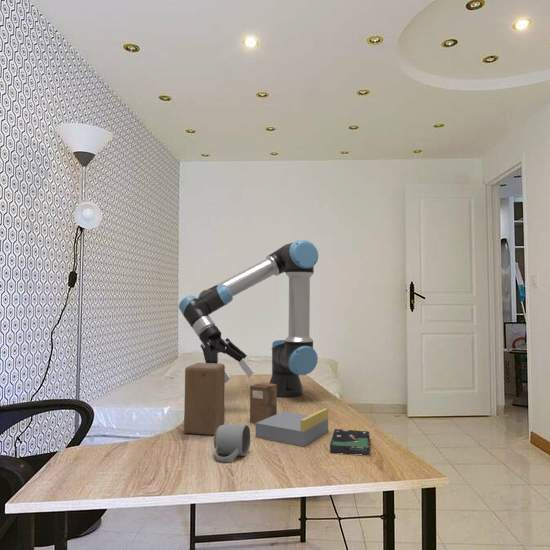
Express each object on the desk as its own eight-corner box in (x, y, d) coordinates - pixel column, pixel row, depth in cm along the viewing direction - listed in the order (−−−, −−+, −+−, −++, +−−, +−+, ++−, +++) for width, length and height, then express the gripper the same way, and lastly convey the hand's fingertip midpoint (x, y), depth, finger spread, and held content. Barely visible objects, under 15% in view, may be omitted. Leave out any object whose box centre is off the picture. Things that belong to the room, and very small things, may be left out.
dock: (283, 423, 142) (283, 402, 142) (328, 431, 133) (328, 408, 134) (255, 436, 128) (255, 412, 129) (303, 446, 120) (303, 420, 120)
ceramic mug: (222, 447, 119) (222, 419, 119) (251, 450, 117) (251, 421, 117) (207, 462, 109) (207, 430, 109) (238, 465, 107) (238, 433, 107)
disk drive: (333, 438, 129) (329, 454, 115) (333, 428, 129) (329, 444, 115) (369, 440, 127) (370, 458, 113) (369, 431, 127) (370, 446, 113)
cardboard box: (261, 417, 149) (262, 382, 150) (276, 420, 146) (276, 384, 147) (249, 422, 143) (250, 385, 144) (265, 425, 140) (265, 387, 141)
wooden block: (214, 436, 129) (215, 367, 130) (182, 434, 131) (183, 366, 132) (225, 426, 138) (225, 363, 140) (195, 424, 140) (196, 362, 142)
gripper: (223, 336, 170) (254, 379, 161) (177, 340, 149) (210, 390, 140) (234, 323, 168) (266, 366, 159) (189, 326, 147) (223, 375, 138)
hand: (239, 377), depth 150 cm, fingers open, 13 cm apart
